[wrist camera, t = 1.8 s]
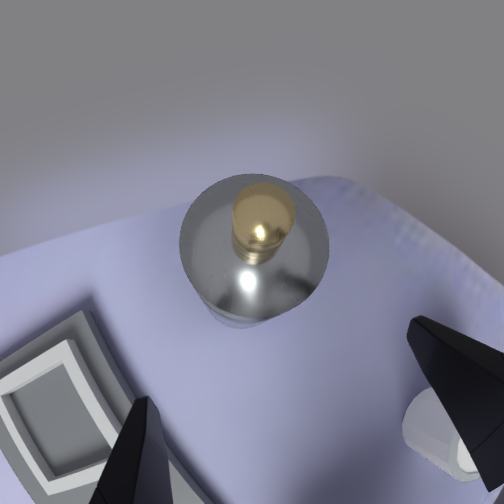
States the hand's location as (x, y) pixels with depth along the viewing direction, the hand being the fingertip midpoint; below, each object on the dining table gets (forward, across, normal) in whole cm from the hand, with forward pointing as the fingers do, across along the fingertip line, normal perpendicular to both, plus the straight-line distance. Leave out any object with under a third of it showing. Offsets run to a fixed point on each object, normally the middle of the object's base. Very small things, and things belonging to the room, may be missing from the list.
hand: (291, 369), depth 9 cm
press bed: (+3, +14, +12) cm, 19 cm away
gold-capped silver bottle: (+11, 0, +5) cm, 12 cm away
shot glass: (+1, -12, +15) cm, 19 cm away
